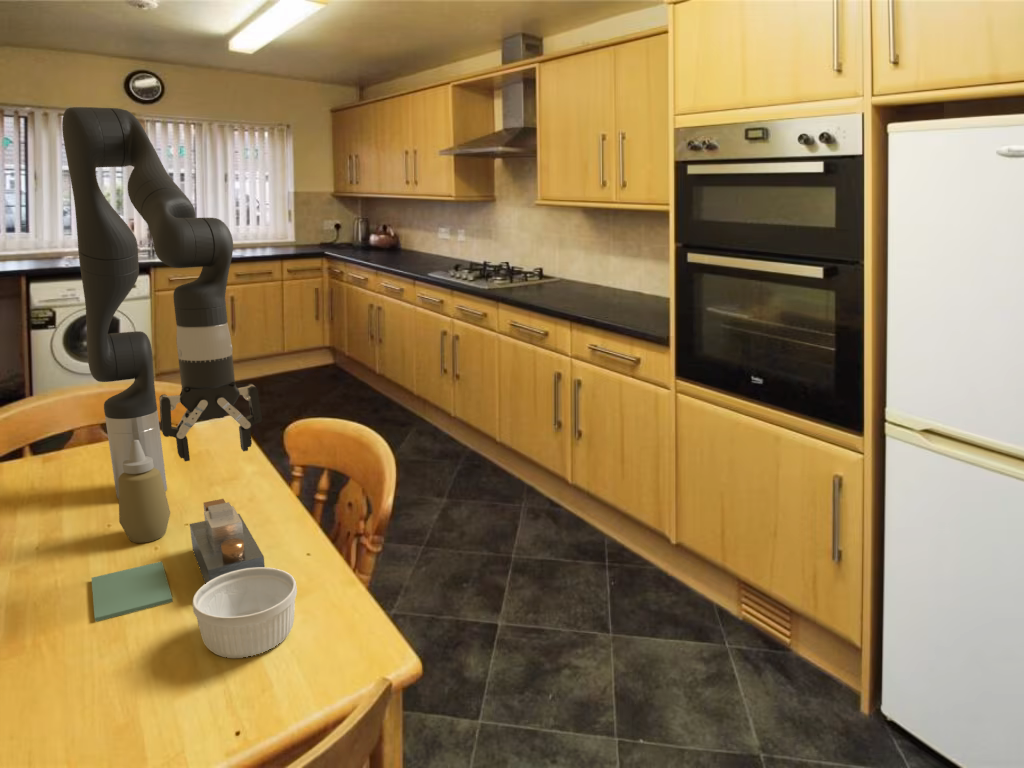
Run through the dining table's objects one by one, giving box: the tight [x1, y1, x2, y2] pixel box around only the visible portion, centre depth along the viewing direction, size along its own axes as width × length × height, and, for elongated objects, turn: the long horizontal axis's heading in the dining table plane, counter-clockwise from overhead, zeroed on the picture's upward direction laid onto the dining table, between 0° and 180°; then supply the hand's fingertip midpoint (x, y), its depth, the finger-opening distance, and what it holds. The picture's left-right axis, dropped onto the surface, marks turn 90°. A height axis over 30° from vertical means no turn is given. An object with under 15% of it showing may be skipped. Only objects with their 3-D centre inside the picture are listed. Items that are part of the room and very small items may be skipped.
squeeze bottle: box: [118, 440, 171, 544], centre depth 122 cm, size 8×8×18 cm
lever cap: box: [203, 502, 244, 552], centre depth 112 cm, size 7×4×5 cm, turn 32°
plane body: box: [189, 498, 266, 584], centre depth 113 cm, size 18×8×9 cm, turn 32°
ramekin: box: [192, 566, 298, 659], centre depth 95 cm, size 13×13×7 cm
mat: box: [91, 560, 174, 623], centre depth 107 cm, size 13×10×1 cm
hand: (216, 454), depth 109 cm, fingers open, 8 cm apart
